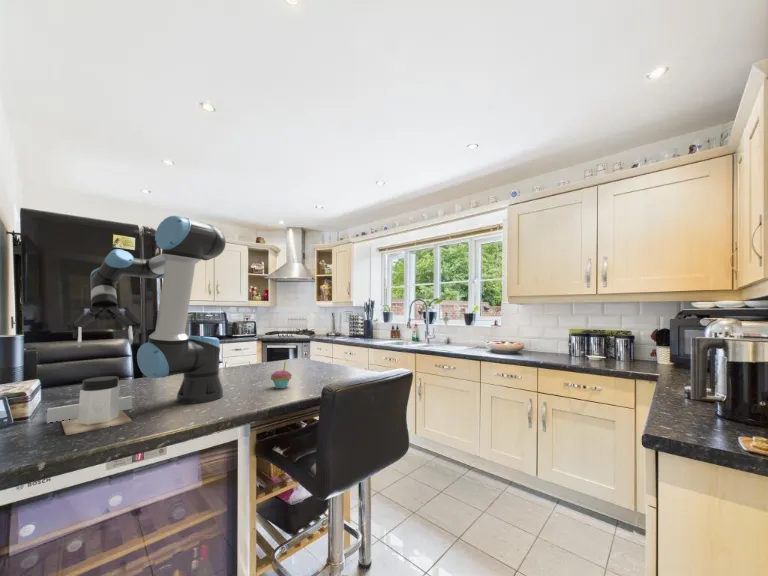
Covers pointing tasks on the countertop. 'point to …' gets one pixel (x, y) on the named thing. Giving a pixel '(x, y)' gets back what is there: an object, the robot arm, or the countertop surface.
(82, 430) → the oak board
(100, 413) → the jar
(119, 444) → the countertop surface
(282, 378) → the cupcake
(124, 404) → the acrylic wall
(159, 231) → the robot arm
